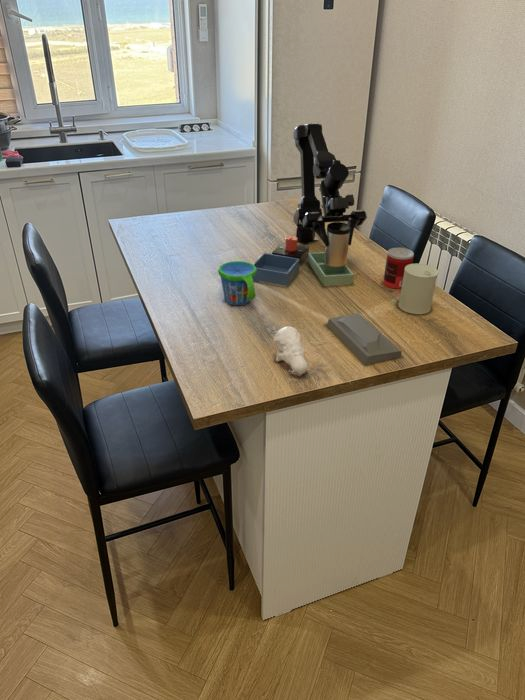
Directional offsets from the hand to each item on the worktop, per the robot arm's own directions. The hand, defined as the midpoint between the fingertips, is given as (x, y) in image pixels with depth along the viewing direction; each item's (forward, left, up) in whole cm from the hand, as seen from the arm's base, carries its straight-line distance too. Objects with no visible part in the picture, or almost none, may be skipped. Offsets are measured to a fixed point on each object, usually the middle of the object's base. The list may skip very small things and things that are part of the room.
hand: (338, 245), depth 164 cm
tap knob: (-2, -22, -9) cm, 24 cm away
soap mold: (+21, +28, -12) cm, 37 cm away
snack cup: (+32, -9, -12) cm, 35 cm away
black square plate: (-2, -22, -12) cm, 25 cm away
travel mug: (-1, -1, -6) cm, 6 cm away
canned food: (-12, +14, -12) cm, 22 cm away
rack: (-3, -5, -12) cm, 13 cm away
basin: (+12, -14, -12) cm, 22 cm away
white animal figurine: (+43, +25, -12) cm, 51 cm away
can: (-5, +26, -12) cm, 29 cm away
